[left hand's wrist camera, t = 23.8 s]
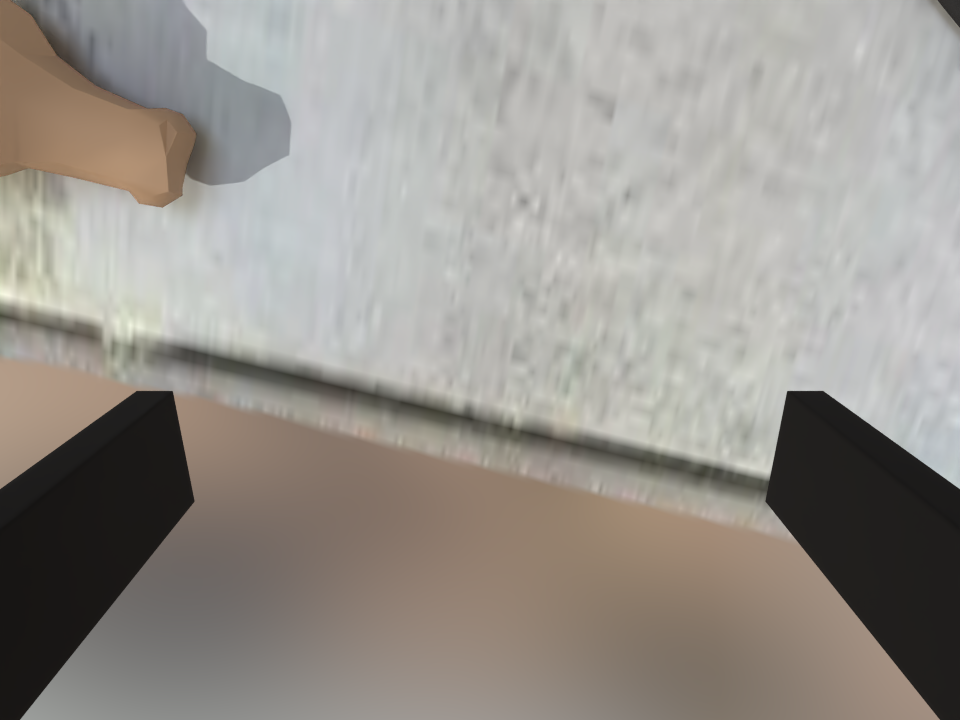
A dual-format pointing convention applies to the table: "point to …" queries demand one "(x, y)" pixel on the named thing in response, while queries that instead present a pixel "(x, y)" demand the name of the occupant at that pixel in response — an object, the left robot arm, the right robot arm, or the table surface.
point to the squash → (82, 122)
